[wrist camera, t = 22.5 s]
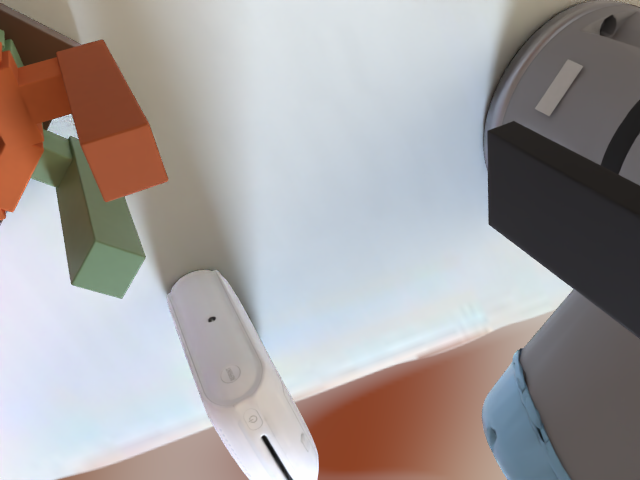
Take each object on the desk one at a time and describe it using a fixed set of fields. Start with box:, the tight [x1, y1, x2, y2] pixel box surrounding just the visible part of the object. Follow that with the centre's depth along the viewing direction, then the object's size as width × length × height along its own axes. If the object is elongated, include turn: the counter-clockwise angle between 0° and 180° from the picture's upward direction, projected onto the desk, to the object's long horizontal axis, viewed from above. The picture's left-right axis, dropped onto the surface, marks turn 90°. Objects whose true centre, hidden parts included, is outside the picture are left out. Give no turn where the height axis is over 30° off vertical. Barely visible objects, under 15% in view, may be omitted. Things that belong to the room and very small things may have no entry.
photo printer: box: [167, 270, 319, 480], centre depth 36 cm, size 10×4×12 cm, turn 17°
